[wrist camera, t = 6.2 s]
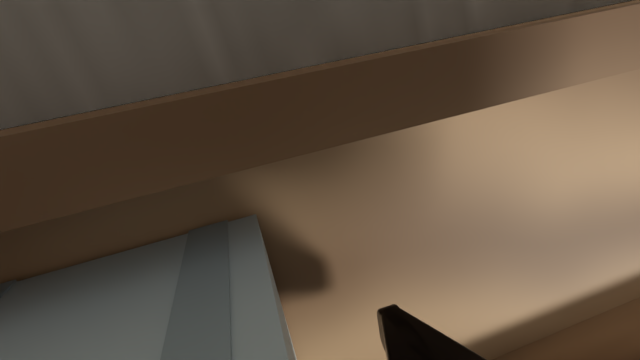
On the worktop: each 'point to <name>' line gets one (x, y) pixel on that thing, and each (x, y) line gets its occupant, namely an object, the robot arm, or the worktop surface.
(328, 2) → the worktop surface
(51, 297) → the block
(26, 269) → the bay
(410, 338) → the robot arm
